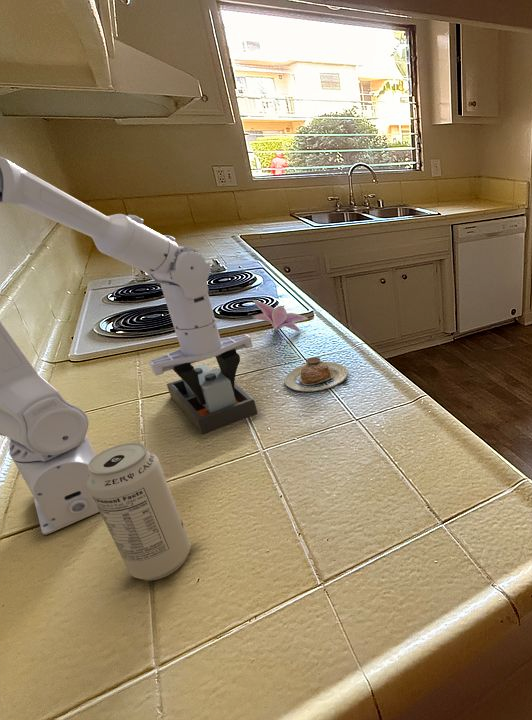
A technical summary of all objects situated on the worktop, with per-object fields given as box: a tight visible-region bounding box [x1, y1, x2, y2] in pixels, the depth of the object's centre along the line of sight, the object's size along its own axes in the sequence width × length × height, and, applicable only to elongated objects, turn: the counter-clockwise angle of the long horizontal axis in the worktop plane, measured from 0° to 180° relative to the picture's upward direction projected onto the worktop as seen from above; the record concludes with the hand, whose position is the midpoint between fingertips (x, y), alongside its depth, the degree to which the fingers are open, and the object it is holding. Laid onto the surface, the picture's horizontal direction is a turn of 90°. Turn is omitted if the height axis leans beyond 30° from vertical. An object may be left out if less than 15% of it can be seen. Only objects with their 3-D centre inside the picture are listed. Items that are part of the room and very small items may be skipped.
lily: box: [252, 300, 309, 343], centre depth 109 cm, size 12×12×10 cm
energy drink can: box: [86, 442, 191, 582], centre depth 50 cm, size 6×6×15 cm
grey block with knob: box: [183, 363, 212, 397], centre depth 84 cm, size 6×4×6 cm, turn 46°
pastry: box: [283, 356, 349, 393], centre depth 91 cm, size 12×12×5 cm
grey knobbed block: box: [198, 368, 236, 413], centre depth 78 cm, size 6×4×6 cm, turn 46°
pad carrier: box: [166, 367, 258, 436], centre depth 82 cm, size 17×9×3 cm, turn 46°
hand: (216, 397), depth 78 cm, fingers closed on grey knobbed block, 4 cm apart
